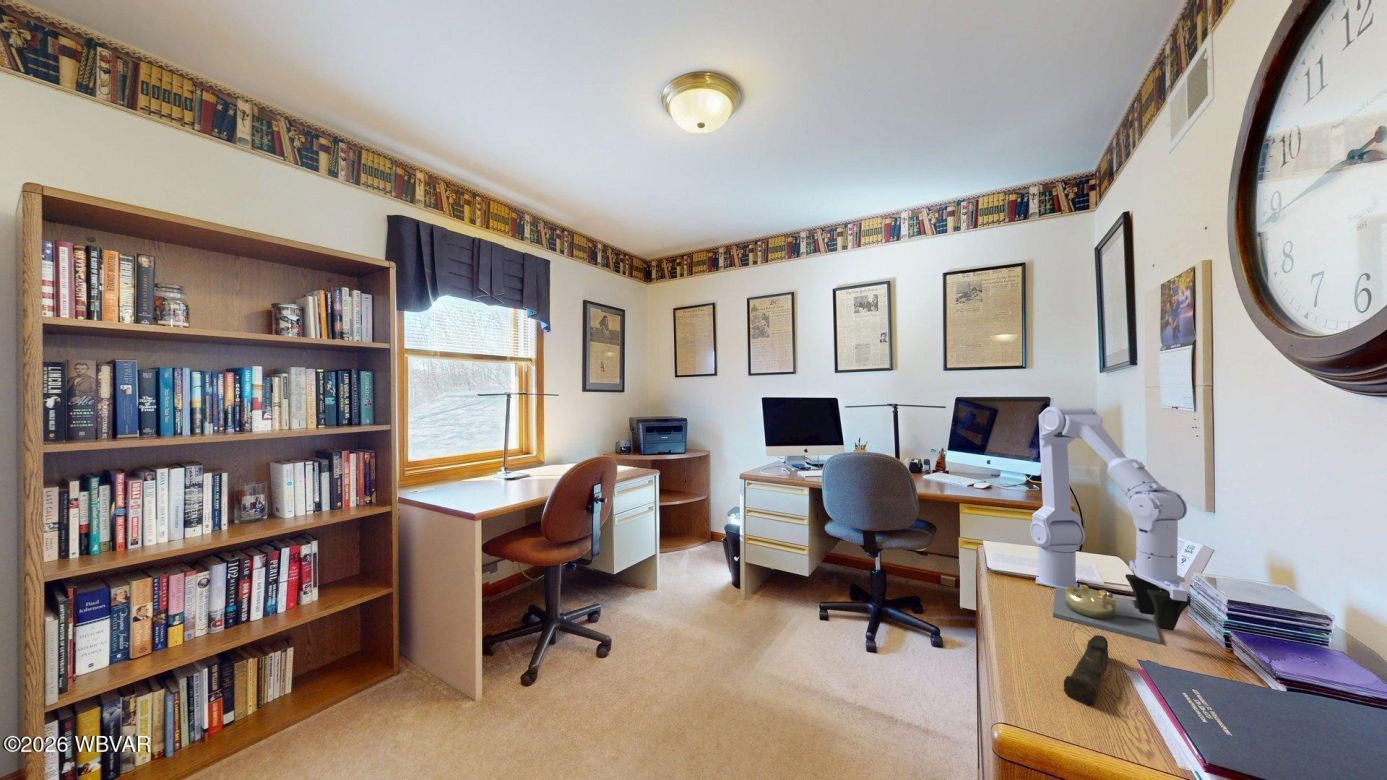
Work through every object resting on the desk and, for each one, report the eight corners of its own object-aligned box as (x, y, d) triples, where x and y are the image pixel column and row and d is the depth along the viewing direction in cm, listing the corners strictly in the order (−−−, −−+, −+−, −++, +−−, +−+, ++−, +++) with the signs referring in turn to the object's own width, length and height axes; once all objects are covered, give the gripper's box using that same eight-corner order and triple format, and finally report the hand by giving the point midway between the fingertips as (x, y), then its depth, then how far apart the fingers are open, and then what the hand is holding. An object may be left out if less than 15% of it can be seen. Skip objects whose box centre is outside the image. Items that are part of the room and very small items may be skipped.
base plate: (1055, 590, 110) (1055, 586, 110) (1149, 611, 100) (1149, 607, 100) (1053, 616, 98) (1053, 612, 98) (1159, 643, 87) (1159, 639, 87)
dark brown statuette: (1095, 711, 70) (1096, 681, 70) (1062, 697, 73) (1063, 668, 73) (1123, 664, 82) (1123, 639, 82) (1093, 654, 85) (1094, 629, 85)
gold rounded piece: (1073, 614, 96) (1073, 595, 96) (1060, 597, 104) (1060, 579, 104) (1161, 627, 91) (1161, 607, 91) (1141, 609, 98) (1141, 590, 98)
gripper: (1209, 568, 82) (1208, 644, 82) (1160, 542, 96) (1159, 607, 96) (1158, 563, 84) (1158, 637, 85) (1117, 538, 98) (1117, 601, 98)
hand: (1155, 621), depth 90 cm, fingers open, 6 cm apart
